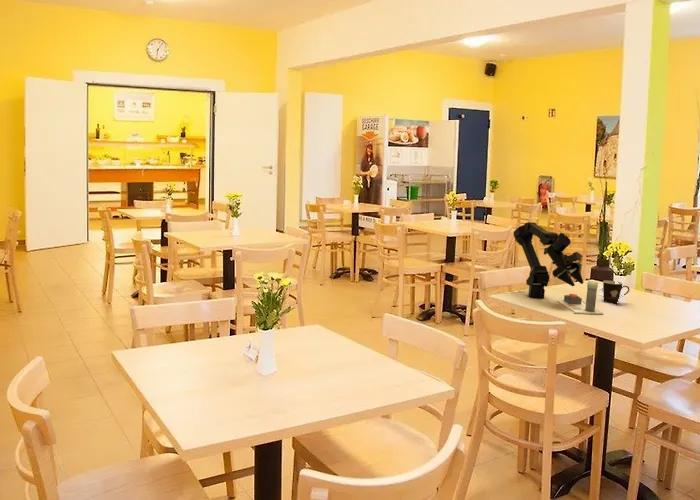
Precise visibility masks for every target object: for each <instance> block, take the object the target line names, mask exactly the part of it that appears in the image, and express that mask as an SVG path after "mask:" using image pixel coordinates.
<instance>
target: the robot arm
mask: <svg viewBox="0 0 700 500" xmlns="http://www.w3.org/2000/svg"><path fill="white" fill-rule="evenodd" d="M533 236H536V237H537V238H539V242H540V243H541V244H542V245H543V246H548V247H545V248H543V249H544V250H543V255H548V256H549V258H550V259H551V260H552V262H551V264H553V265H555V266H556V268H554V270H552V274H551V275H552V276H553V277H554V278H556V279H559V280H560V281H563V282H564V283H566V284H568V285H569V286H571V287H574V286H576V284H575V283H574V280H576V282H578V283H580V284H581V285H583V284H584V279H583V277H582V274H581V270H582V266H583V265H582V263H581V262H580V261H581V260H582V258H581V257H582V254H580V252H578V251H575V252H573V253H572V254H570V255H568V254H566V253H565V254H564V251H565V250H566V249H567V248H568V247H569V246H570V245H571V239H570V237H568V235H565V233H564V232H562V233H561V232H560V233H559V234H558V233H557V232H554V231H549V230H547V229H545V228H543V227H542V226H540V225H539V224H537V223H536V222H531V221H530V222H529V221H528V222H526V223H524V224H523V225H520V226H518V227H516V229H515V230H514V231H513V237H514V239H515V241H516V243H517V244H519V245H520V246H521V248H522V250H523V253H524V255H525V258H526V260H527V263H528V265H529V268H530V269H529V270H530V271H529V274H528V275H529V276H528V277H527V279H526V281H525V282H526V285H527V286H529V287H528V295H526V296H527V297H528V298H530V299H539V300H544V299H545V291H546V289H545V287H547V286H548V284H549V281H550V274H549V271H548V268H547V266H546V265H541V262H540V261H539V257H538V255H537V252H536V251H535V248H534V245H533V243H532V241H533V238H534V237H533ZM572 278H573V279H574V280H573V279H572Z"/></svg>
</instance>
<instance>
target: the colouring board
mask: <svg viewBox="0 0 700 500" xmlns="http://www.w3.org/2000/svg"><path fill="white" fill-rule="evenodd" d="M556 302H557V303H559V305H561V306H563V307H565V308H566V309H568V310H570V311H571V312H572V313H573V314H574V315H589V316H590V315H591V316H592V315H593V316H604V313H603V312H601V311H600V310H598V309H596V308H595V312H588V311H585V307H586V302H584V301H582V302H581V304H568V303H566V302H564V300H556Z"/></svg>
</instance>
